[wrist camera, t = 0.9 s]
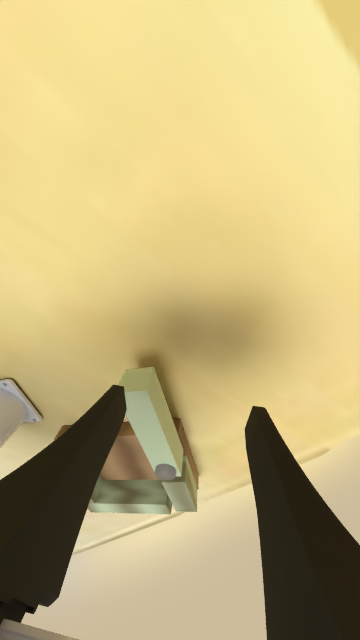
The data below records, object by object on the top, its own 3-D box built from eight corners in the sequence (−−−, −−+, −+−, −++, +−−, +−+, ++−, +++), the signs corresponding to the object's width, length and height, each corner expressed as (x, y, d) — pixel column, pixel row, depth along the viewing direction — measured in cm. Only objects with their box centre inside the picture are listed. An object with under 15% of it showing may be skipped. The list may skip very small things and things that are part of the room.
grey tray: (99, 475, 36) (85, 512, 32) (62, 426, 30) (39, 462, 26) (198, 474, 33) (197, 515, 28) (180, 418, 27) (175, 459, 22)
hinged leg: (183, 449, 26) (180, 481, 23) (161, 450, 27) (156, 481, 24) (153, 366, 20) (145, 394, 17) (125, 369, 20) (112, 397, 17)
